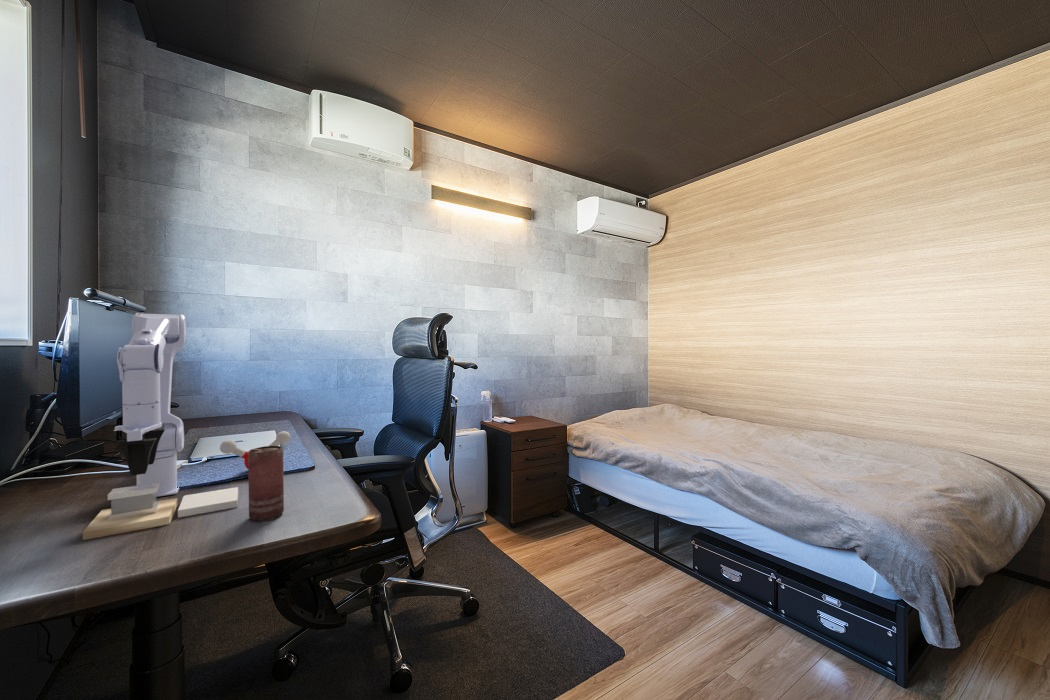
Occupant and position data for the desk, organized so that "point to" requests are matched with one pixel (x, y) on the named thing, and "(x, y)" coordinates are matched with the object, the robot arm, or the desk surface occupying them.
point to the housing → (133, 501)
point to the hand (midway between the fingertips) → (142, 469)
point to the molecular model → (231, 447)
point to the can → (265, 483)
